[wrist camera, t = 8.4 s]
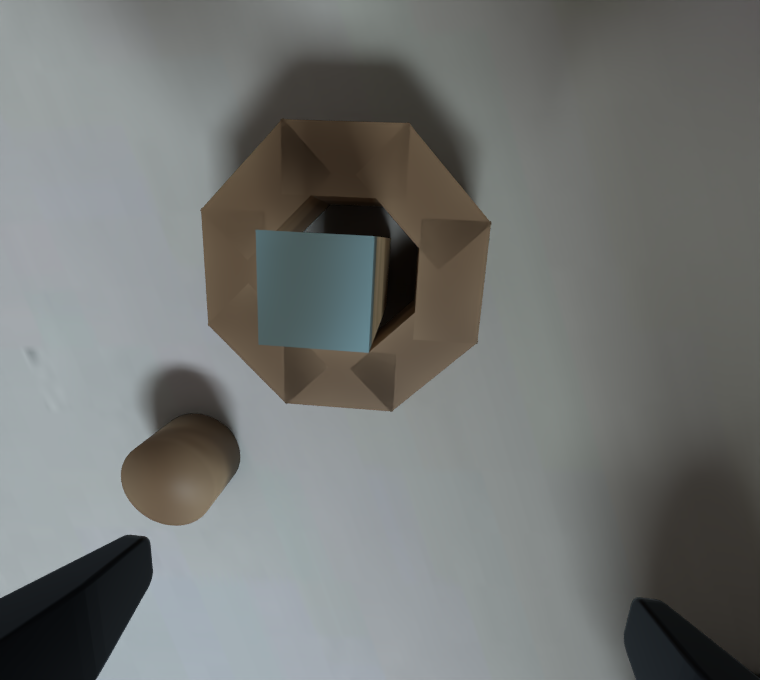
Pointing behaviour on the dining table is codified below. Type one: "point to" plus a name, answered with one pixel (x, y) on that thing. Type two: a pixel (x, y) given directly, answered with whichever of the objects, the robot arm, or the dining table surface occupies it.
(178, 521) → the loose bead
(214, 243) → the wooden octagonal ring
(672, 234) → the dining table surface
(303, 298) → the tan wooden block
